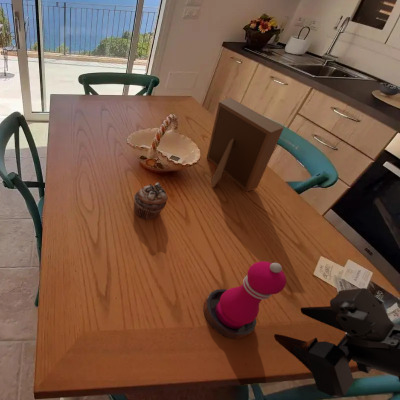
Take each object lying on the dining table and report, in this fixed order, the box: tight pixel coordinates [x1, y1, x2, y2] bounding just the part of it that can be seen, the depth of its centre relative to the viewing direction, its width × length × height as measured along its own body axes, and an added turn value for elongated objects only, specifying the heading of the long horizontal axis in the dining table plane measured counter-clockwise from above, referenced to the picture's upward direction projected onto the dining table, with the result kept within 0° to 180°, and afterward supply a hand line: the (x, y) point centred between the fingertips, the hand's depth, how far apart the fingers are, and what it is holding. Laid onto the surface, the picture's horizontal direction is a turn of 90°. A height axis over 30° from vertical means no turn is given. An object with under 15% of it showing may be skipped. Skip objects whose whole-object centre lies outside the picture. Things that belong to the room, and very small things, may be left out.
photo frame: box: [206, 97, 285, 193], centre depth 92 cm, size 15×22×25 cm
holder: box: [202, 288, 257, 340], centre depth 60 cm, size 10×10×2 cm
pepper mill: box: [215, 260, 287, 329], centre depth 54 cm, size 7×7×20 cm
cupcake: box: [133, 182, 169, 221], centre depth 81 cm, size 10×10×10 cm
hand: (288, 323), depth 49 cm, fingers open, 9 cm apart
